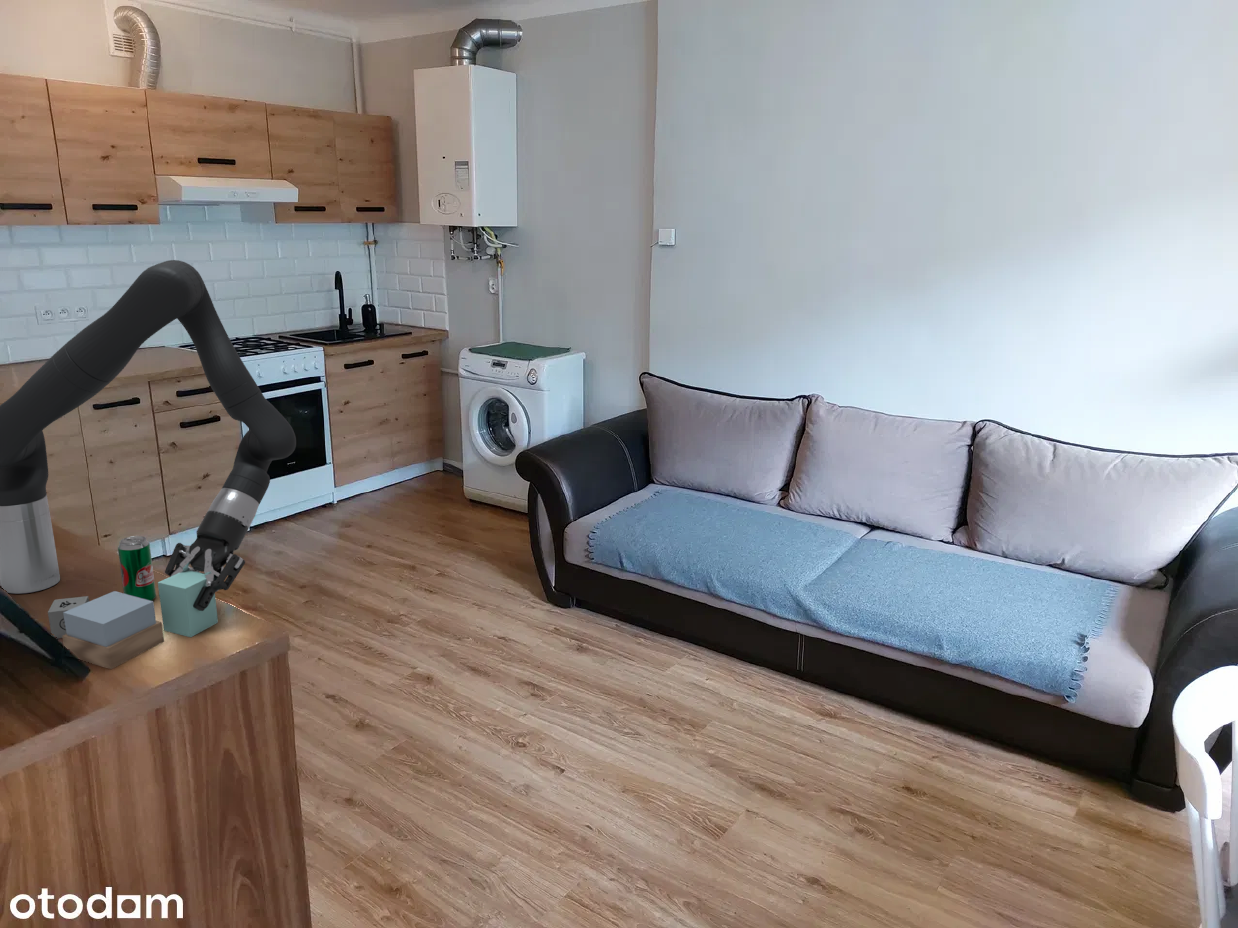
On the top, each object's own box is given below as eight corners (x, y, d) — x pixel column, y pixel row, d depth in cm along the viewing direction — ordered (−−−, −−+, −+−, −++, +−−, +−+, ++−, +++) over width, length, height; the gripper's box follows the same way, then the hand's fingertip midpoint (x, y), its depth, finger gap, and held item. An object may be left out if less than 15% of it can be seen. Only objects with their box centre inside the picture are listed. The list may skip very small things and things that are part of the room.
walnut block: (65, 658, 138) (62, 635, 137) (120, 631, 147) (117, 610, 146) (111, 671, 134) (108, 648, 133) (164, 643, 143) (161, 621, 142)
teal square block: (163, 630, 147) (157, 582, 144) (191, 616, 152) (186, 569, 150) (190, 637, 145) (185, 588, 142) (217, 622, 150) (213, 575, 148)
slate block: (66, 635, 137) (63, 612, 136) (117, 612, 145) (114, 590, 144) (106, 647, 134) (103, 624, 133) (156, 623, 142) (153, 601, 141)
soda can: (143, 608, 154) (134, 546, 151) (118, 604, 155) (110, 543, 152) (162, 596, 159) (155, 536, 156) (139, 593, 160) (131, 533, 157)
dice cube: (58, 626, 147) (54, 599, 146) (92, 622, 149) (88, 596, 148) (52, 639, 143) (47, 612, 141) (86, 635, 145) (82, 608, 143)
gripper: (184, 503, 153) (135, 590, 145) (248, 515, 148) (201, 605, 141) (210, 522, 159) (164, 606, 152) (272, 534, 154) (229, 621, 147)
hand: (183, 605), depth 146 cm, fingers closed on teal square block, 6 cm apart
